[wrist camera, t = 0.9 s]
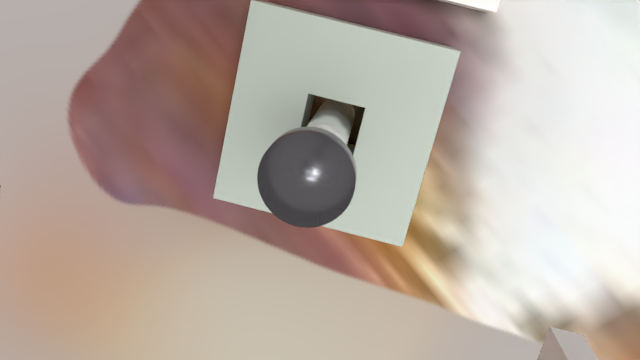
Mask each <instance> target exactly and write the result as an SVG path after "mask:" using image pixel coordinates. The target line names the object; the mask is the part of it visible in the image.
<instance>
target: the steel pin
mask: <svg viewBox="0 0 640 360" xmlns="http://www.w3.org/2000/svg"><path fill="white" fill-rule="evenodd" d="M354 116H355V113H354V109H353V106H352V105H351V104H348V103H344V102H340V101H336V100H332V99H327V100H325V101H324V102H323V103H322V105H321V106H320V108H319V109H318V111H317V112H316V114H315V115H314V117H313V118H312V120H311V121H310V122H309V124H308V125H307V127H299V128H295V129H292V130H289V131H287V132H285V133H284V134H282V135H281V136H279V137H278V138H277V139H276V140H275V141H274V142H273V143H272V145H271V146H270V147H269V148H268V149H267V151H266V152H265V153H264V155H263V157H262V159H261V161H260V164H259V167H258V173H257V183H258V189H259V193H260V195H261V198H262V200H263V202H264V203H265V205H266V206H267V208H268V209H269V210H270V211H271V212H272V213H273V214H274V215H275V216H276V217H278V218H279V219H281V220H282V221H284V222H286V223H288V224H291V225H294V226H298V227H307V228H308V227H318V226H322V225H325V224H328V223H330V222H332V221H333V220H335V219H336V218H338V217H339V216H340V215H341V214H342V213H343V212H344V211H345V210H346V209H347V207H348V206H349V204H350V202H351V200H352V198H353V195H354V191H355V185H356V179H357V169H356V163H355V160H354V157H353V155H352V153H351V151H350V149H349V148H348V146H347V143H348V139H349V135H350V132H351V128H352V125H353V121H354Z"/></svg>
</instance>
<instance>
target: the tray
mask: <svg viewBox="0 0 640 360" xmlns="http://www.w3.org/2000/svg"><path fill="white" fill-rule="evenodd" d="M437 1H441V2H445V3H450V4H454V5H458V6H462V7H466V8H470V9H474V10H478V11H482V12H497V9H498V6H499V3H500V0H437Z"/></svg>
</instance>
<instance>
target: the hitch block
mask: <svg viewBox="0 0 640 360" xmlns="http://www.w3.org/2000/svg"><path fill="white" fill-rule="evenodd" d="M459 56H460V51H458V50H456V49H454V48H452V47H450V46H446V45H442V44H438V43H434V42H429V41H425V40H421V39H417V38H413V37H409V36H405V35H401V34H397V33H393V32H389V31H385V30H381V29H377V28H373V27H369V26H365V25H361V24H356V23H352V22H348V21H344V20H340V19H336V18H332V17H328V16H324V15H320V14H316V13H312V12H308V11H304V10H300V9H296V8H292V7H287V6H283V5H279V4H275V3H271V2H266V1H256V0H251V3H250V8H249V13H248V18H247V24H246V29H245V34H244V39H243V45H242V50H241V55H240V60H239V65H238V71H237V76H236V81H235V86H234V92H233V97H232V102H231V107H230V112H229V118H228V123H227V128H226V133H225V139H224V144H223V149H222V154H221V159H220V165H219V170H218V175H217V180H216V186H215V191H214V196H213V198H215V199H219V200H223V201H227V202H231V203H235V204H239V205H242V206H246V207H250V208H254V209H258V210H262V211H266V212H269V213H272V212H271V211H270V210H269V209H268V208H267V206H266V205H265V203H264V202H263V200H262V198H261V195H260V193H259V189H258V183H257V173H258V167H259V164H260V161H261V159H262V157H263V155H264V153H265V152H266V151H267V149H268V148H269V147H270V146H271V145H272V143H273V142H274V141H275V140H276V139H277V138H278V137H279V136H281V135H282V134H284V133H285V132H287V131H289V130H292V129H295V128H299V127H307V125H308V123H309V118H310V114H311V110H312V106H313V101H314V97H315V95H316V96H320V97H324V98H328V99H332V100H336V101H340V102H344V103H348V104H352V105H356V106H360V107H364V108H365V109H364V113H363V117H362V120H361V124H360V128H359V132H358V136H357V140H356V144H355V145H352V144H348V143H347V146H348V148H349V149H350V151H351V153H352V155H353V157H354V160H355V163H356V169H357V179H356V185H355V191H354V195H353V198H352V200H351V202H350V204H349V206H348V207H347V209H346V210H345V211H344V212H343V213H342V214H341V215H340V216H339V217H338V218H336V219H335V220H333V221H332V222H330V223H328V224H325V225H322V226H323V227H327V228H331V229H335V230H339V231H343V232H347V233H350V234H354V235H358V236H362V237H366V238H370V239H374V240H378V241H381V242H385V243H389V244H393V245H397V246H401V247H402V246H403V243H404V240H405V236H406V233H407V230H408V226H409V223H410V220H411V216H412V213H413V210H414V206H415V203H416V199H417V196H418V193H419V189H420V186H421V183H422V179H423V176H424V173H425V169H426V166H427V163H428V159H429V156H430V153H431V149H432V146H433V143H434V139H435V136H436V133H437V129H438V126H439V122H440V119H441V116H442V112H443V109H444V106H445V102H446V99H447V96H448V92H449V89H450V86H451V82H452V79H453V76H454V72H455V69H456V66H457V62H458V59H459Z"/></svg>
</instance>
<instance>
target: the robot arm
mask: <svg viewBox="0 0 640 360" xmlns="http://www.w3.org/2000/svg"><path fill="white" fill-rule="evenodd" d="M537 360H598V358H597V356H596V355H595V353H594V352H593V350H592V348H591V347H590V345H589V344H588V342H587V340H586V339H585V337H584V336H583V335H581V334H577V333H573V332H569V331H565V330H561V329H557V328H554V327H550V328H549V330H548V333H547V336H546V338H545V341H544V343H543V346H542V349H541V351H540V354H539V356H538V359H537Z"/></svg>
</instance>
